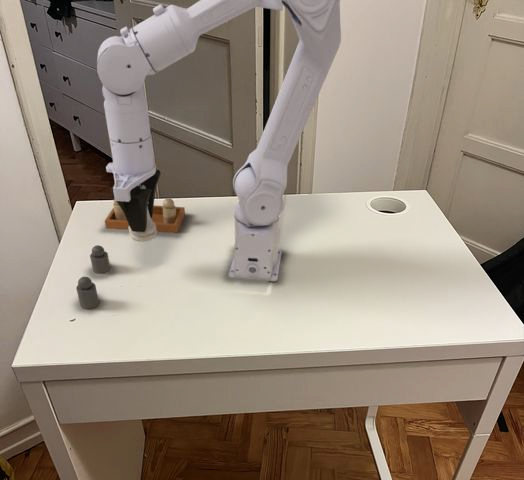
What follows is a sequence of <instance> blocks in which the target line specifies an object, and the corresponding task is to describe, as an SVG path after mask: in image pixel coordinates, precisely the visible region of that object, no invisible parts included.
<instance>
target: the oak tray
mask: <svg viewBox="0 0 524 480" xmlns="http://www.w3.org/2000/svg"><path fill="white" fill-rule="evenodd" d="M162 207H163V205H157V204H156V205H155V204H154V208H153V216H152V220H153V222H154V223H155V224H156V227H157V228H156V230H157V232H158V233H169V234H177V233H178V231H179V229H180V228H181V226H182V223H183V221H184V218H185V216H186V209H185V207H184V206H176V216H177V218H176V220H175V222H174V224H168V223H164V218H163V209H162ZM104 224H105V229H109V230H123V231H129V229H128V227H129V224H128V221H123V220H116V218H115V212H114V207H113V208H112V209H111V211H110V212H109V213H108V215H107V217H106V218H105V219H104Z"/></svg>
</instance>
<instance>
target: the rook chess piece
mask: <svg viewBox="0 0 524 480" xmlns="http://www.w3.org/2000/svg"><path fill="white" fill-rule="evenodd" d="M139 186H140V189H146V187H145V186H144V185H142V187H141V184H139V185H138V187H139ZM156 228H157V227H156V224H155V223H154V222H153V220H152V219H151V217H150V215H149V211H148V206H147V226H146V230H145V232H136V231H132V230H131V228H130V226H129V227H128V229H129V230H128V231H129V232H128V236H129V237H130V238H131V239H132V241H134V242H138V243H146V242H149V241H153V240H154V239H155V238H156V237H157V234H158V233H159V232H157V230H156Z"/></svg>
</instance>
